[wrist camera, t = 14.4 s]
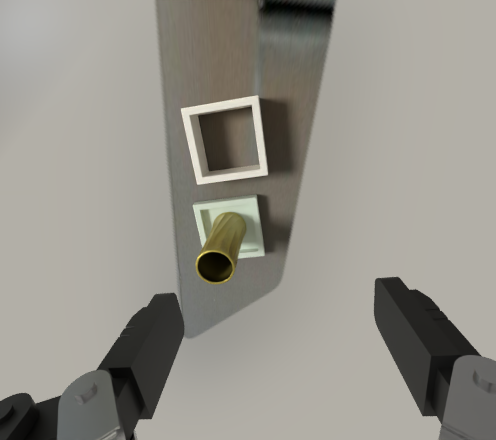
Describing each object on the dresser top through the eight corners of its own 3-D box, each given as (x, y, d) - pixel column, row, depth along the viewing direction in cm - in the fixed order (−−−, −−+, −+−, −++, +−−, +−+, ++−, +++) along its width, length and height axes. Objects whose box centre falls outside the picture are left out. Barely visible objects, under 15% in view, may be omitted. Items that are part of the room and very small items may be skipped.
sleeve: (190, 109, 43) (180, 108, 38) (259, 98, 41) (257, 95, 36) (204, 178, 46) (197, 184, 42) (268, 169, 45) (267, 175, 40)
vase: (252, 233, 48) (246, 276, 35) (224, 248, 50) (208, 294, 37) (235, 205, 47) (222, 238, 34) (206, 221, 48) (182, 259, 35)
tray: (195, 201, 48) (192, 205, 46) (256, 194, 46) (256, 197, 45) (208, 256, 52) (205, 261, 50) (264, 250, 50) (264, 255, 48)
